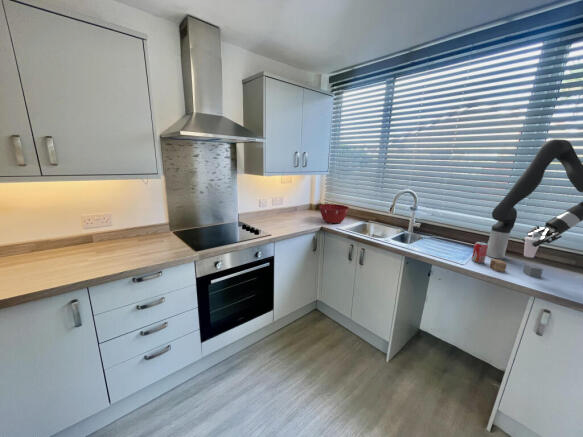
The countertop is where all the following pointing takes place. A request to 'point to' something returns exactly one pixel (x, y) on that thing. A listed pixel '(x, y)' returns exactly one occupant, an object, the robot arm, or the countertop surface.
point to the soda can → (479, 252)
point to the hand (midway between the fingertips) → (528, 243)
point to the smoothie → (530, 246)
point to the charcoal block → (532, 270)
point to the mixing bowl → (333, 212)
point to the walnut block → (498, 265)
